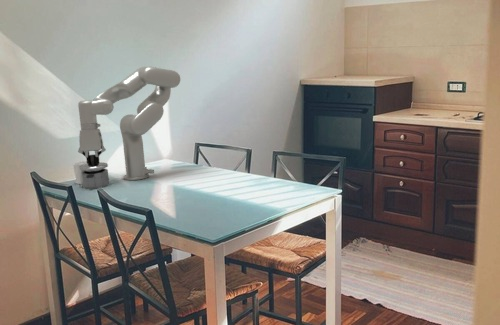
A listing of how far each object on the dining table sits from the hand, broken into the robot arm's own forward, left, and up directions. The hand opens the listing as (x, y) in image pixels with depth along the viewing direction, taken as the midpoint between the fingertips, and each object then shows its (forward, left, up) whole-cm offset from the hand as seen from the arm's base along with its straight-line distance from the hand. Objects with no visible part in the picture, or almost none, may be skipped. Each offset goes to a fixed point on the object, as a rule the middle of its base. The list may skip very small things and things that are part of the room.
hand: (93, 164), depth 256 cm
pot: (0, 0, -10) cm, 10 cm away
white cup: (+8, -7, -10) cm, 15 cm away
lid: (0, 0, -3) cm, 3 cm away
